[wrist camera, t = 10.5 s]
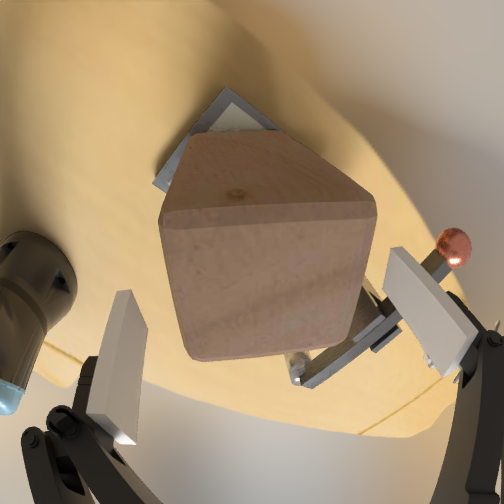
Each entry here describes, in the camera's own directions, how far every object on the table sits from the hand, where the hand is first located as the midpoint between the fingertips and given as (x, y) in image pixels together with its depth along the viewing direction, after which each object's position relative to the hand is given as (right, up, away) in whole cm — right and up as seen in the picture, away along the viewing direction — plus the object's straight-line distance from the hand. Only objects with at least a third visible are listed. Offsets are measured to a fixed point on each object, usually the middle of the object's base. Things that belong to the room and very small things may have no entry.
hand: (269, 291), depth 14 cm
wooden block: (-2, +10, +17) cm, 20 cm away
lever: (+9, -1, +11) cm, 14 cm away
